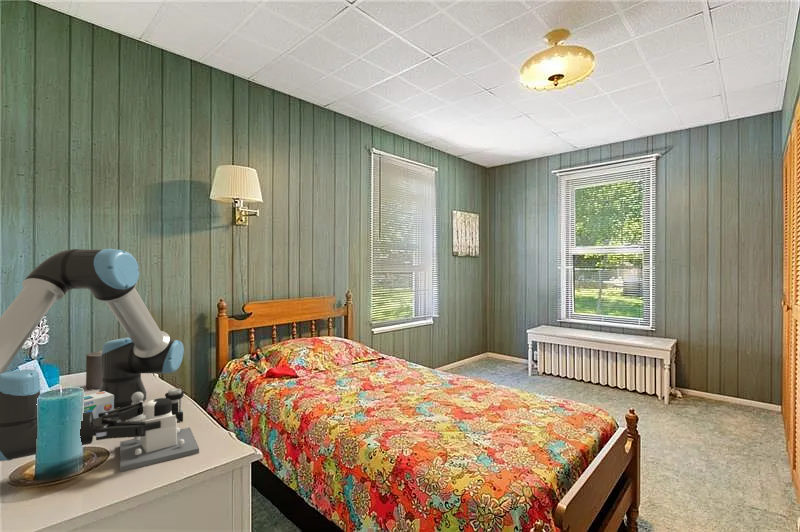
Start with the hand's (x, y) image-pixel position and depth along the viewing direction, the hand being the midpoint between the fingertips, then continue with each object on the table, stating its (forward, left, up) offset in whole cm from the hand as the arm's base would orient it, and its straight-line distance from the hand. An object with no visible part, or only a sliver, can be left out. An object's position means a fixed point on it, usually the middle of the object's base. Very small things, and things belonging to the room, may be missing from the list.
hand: (172, 412), depth 109 cm
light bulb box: (-24, -19, -10) cm, 32 cm away
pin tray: (0, -3, -9) cm, 10 cm away
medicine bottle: (0, -3, -8) cm, 9 cm away
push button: (-20, +2, -9) cm, 22 cm away
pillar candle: (-81, -18, -10) cm, 84 cm away
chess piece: (-28, -7, -9) cm, 30 cm away
